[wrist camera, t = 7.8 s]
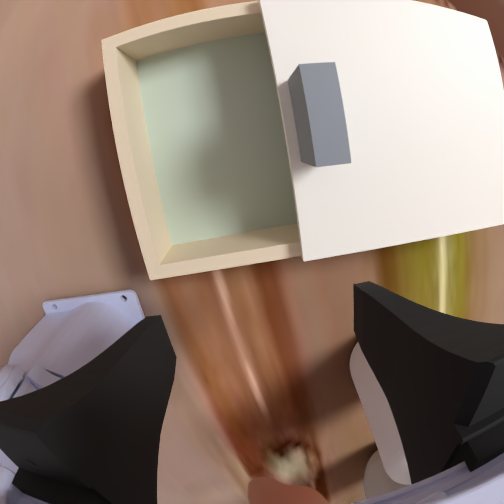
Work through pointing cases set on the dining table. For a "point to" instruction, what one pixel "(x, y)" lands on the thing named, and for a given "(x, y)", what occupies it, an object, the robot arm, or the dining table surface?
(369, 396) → the pill bottle
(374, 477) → the gray tapered bottle
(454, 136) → the lid
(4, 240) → the dining table surface
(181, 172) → the beige open box
